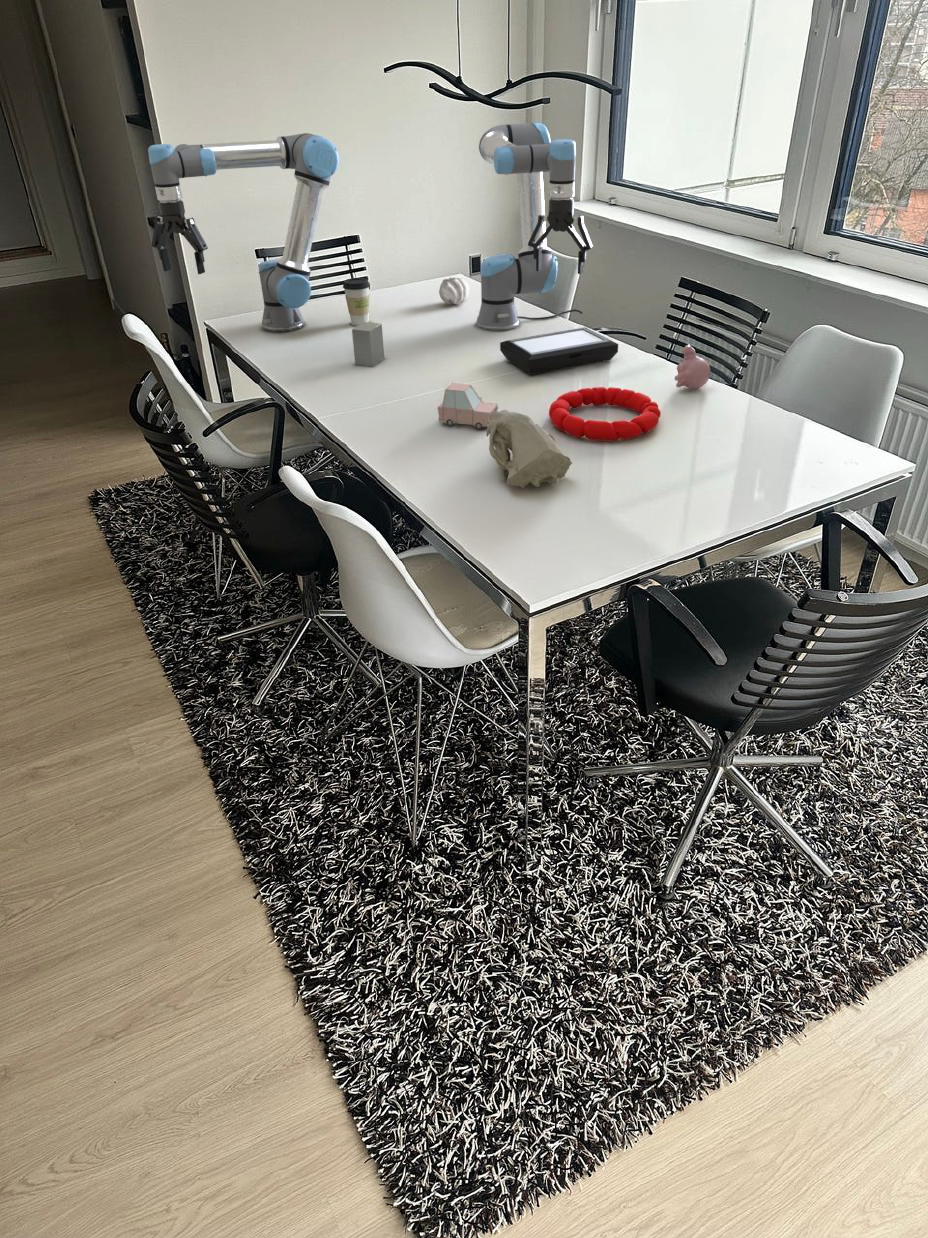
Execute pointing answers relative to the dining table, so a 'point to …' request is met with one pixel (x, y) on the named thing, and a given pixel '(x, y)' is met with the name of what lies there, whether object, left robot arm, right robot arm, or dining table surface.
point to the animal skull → (525, 450)
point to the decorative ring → (604, 428)
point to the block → (368, 344)
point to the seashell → (453, 290)
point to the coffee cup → (357, 299)
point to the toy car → (465, 406)
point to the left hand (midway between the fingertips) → (184, 271)
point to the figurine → (692, 370)
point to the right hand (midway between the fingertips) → (559, 271)
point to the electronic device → (558, 350)
